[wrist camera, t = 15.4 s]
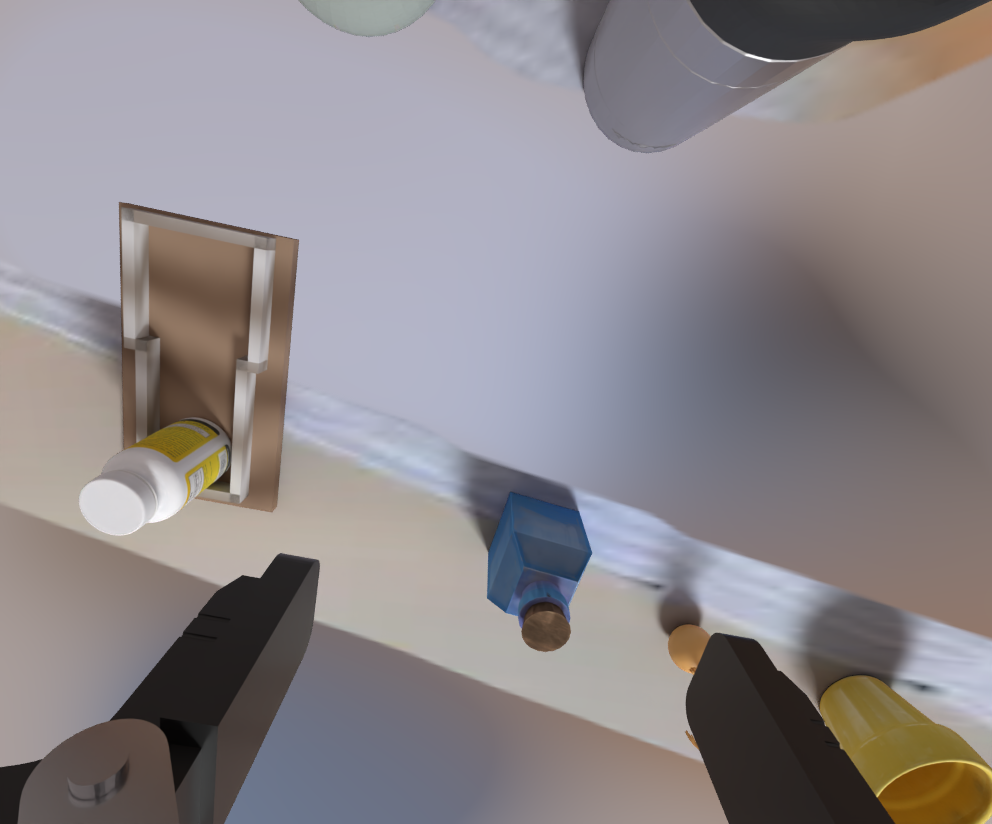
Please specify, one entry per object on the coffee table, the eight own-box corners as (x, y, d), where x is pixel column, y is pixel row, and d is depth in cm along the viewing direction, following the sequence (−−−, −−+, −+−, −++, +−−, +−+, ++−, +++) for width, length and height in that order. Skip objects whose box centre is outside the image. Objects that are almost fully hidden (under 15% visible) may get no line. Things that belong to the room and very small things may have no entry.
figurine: (704, 592, 45) (775, 708, 34) (745, 630, 47) (827, 753, 35) (636, 646, 47) (680, 773, 36) (677, 681, 48) (733, 814, 37)
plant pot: (845, 756, 51) (922, 868, 42) (777, 707, 49) (842, 813, 40) (928, 695, 49) (1030, 799, 40) (860, 641, 47) (951, 737, 38)
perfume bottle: (488, 552, 44) (485, 656, 33) (510, 491, 42) (515, 580, 31) (554, 570, 45) (574, 679, 33) (579, 511, 43) (609, 605, 31)
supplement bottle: (153, 429, 39) (47, 484, 30) (213, 405, 39) (123, 454, 30) (190, 487, 41) (99, 556, 32) (247, 465, 40) (173, 529, 31)
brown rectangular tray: (129, 203, 35) (102, 199, 33) (299, 239, 36) (285, 238, 34) (133, 480, 42) (111, 494, 40) (276, 506, 43) (263, 521, 40)
